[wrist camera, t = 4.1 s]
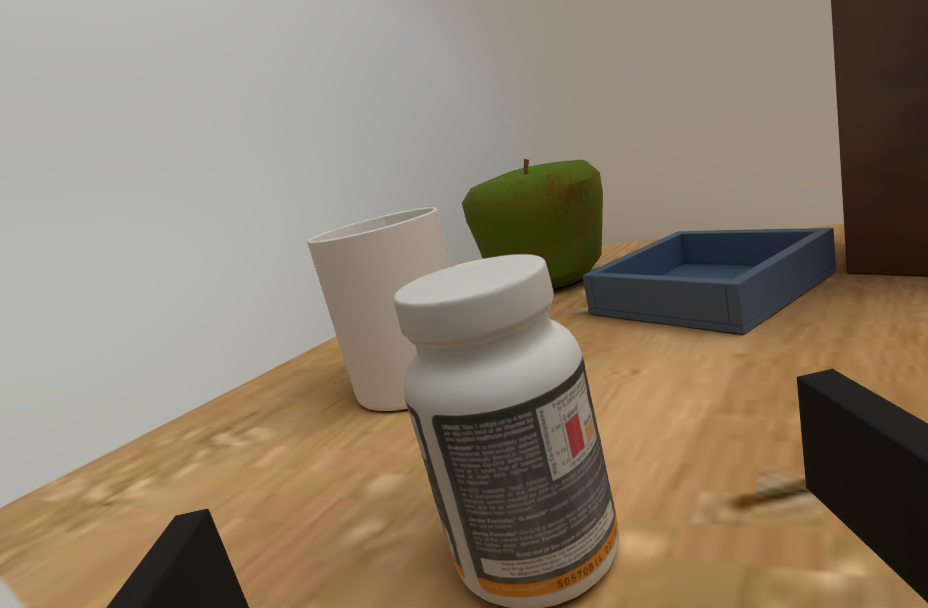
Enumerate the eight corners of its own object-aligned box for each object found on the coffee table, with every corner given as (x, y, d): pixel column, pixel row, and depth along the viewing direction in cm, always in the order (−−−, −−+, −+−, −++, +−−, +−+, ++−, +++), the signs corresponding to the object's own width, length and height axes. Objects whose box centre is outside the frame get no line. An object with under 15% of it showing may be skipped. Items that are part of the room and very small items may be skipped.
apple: (479, 282, 59) (454, 173, 56) (595, 254, 59) (575, 143, 56) (489, 315, 47) (457, 179, 44) (635, 280, 47) (612, 141, 44)
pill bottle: (648, 520, 20) (600, 241, 17) (568, 648, 16) (489, 309, 13) (514, 486, 23) (457, 253, 21) (421, 583, 19) (337, 309, 17)
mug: (475, 397, 32) (430, 217, 30) (343, 424, 33) (287, 250, 30) (479, 329, 44) (447, 195, 41) (381, 350, 45) (343, 220, 42)
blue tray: (836, 271, 38) (833, 227, 37) (744, 334, 32) (738, 284, 31) (682, 266, 47) (677, 231, 47) (589, 314, 41) (581, 275, 41)
